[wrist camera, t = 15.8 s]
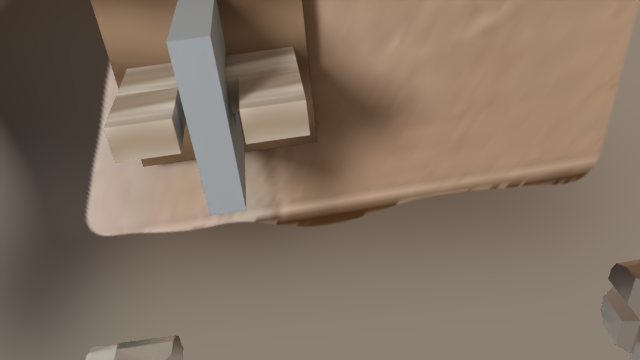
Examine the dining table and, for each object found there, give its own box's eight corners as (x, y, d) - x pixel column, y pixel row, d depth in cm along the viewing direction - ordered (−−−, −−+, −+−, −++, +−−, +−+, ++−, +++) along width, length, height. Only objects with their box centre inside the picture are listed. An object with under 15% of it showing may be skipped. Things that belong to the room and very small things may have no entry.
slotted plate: (179, -5, 38) (166, 41, 31) (214, -9, 39) (210, 36, 31) (214, 147, 45) (210, 215, 38) (244, 143, 45) (246, 210, 38)
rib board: (91, -18, 39) (50, 34, 30) (295, -43, 39) (313, 0, 31) (145, 157, 47) (125, 238, 38) (314, 132, 47) (333, 207, 39)
